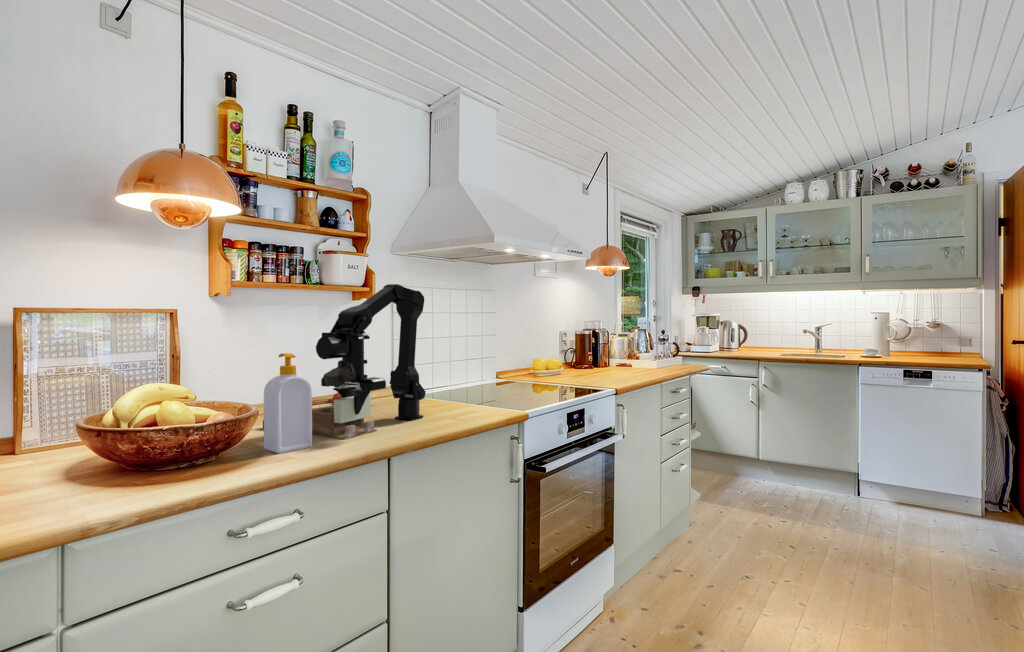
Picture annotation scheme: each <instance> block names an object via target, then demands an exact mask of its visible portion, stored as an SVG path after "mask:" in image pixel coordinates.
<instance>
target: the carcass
mask: <svg viewBox="0 0 1024 652" xmlns="http://www.w3.org/2000/svg"><path fill="white" fill-rule="evenodd" d="M377 431H378V428H377V429H376V428H375V421H374V420H371V419H370V420H367V421H365V418H361V419H357V420H353V421H349V422H345V423H334V406H332V405H331V406H328V407H323V408H318V409H312V435H313V436H314V435H316V436H321V437H327V438H333V439H339V440H345V441H346V440H349V439H351V438H355V437H358V436H362V435H363V436H364V435H366V434H370V433H374V432H377Z"/></svg>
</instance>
